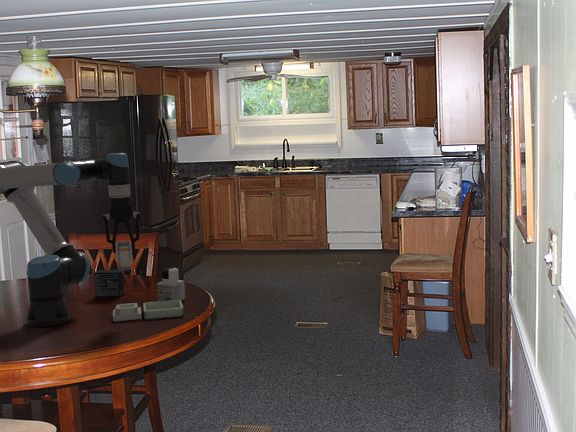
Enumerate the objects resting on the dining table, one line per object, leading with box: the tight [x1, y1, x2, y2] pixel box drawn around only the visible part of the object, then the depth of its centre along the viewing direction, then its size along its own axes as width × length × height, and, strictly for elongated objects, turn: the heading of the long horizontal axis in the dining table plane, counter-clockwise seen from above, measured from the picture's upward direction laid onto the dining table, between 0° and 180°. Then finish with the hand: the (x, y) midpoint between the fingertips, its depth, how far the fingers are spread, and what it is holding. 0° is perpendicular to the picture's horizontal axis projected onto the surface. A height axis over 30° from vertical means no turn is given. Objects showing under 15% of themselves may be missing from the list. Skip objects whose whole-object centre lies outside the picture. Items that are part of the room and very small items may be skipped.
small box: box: [93, 269, 125, 299], centre depth 317 cm, size 11×6×10 cm, turn 84°
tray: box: [142, 300, 185, 320], centre depth 285 cm, size 14×14×3 cm
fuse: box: [116, 240, 132, 272], centre depth 279 cm, size 4×4×10 cm
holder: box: [112, 302, 143, 322], centre depth 282 cm, size 10×10×4 cm
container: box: [156, 267, 186, 302], centre depth 303 cm, size 8×8×13 cm
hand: (124, 260), depth 280 cm, fingers closed on fuse, 4 cm apart
